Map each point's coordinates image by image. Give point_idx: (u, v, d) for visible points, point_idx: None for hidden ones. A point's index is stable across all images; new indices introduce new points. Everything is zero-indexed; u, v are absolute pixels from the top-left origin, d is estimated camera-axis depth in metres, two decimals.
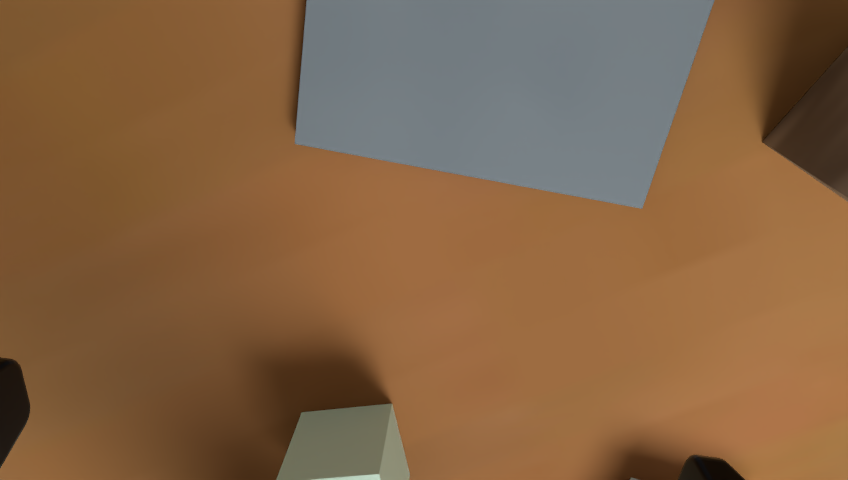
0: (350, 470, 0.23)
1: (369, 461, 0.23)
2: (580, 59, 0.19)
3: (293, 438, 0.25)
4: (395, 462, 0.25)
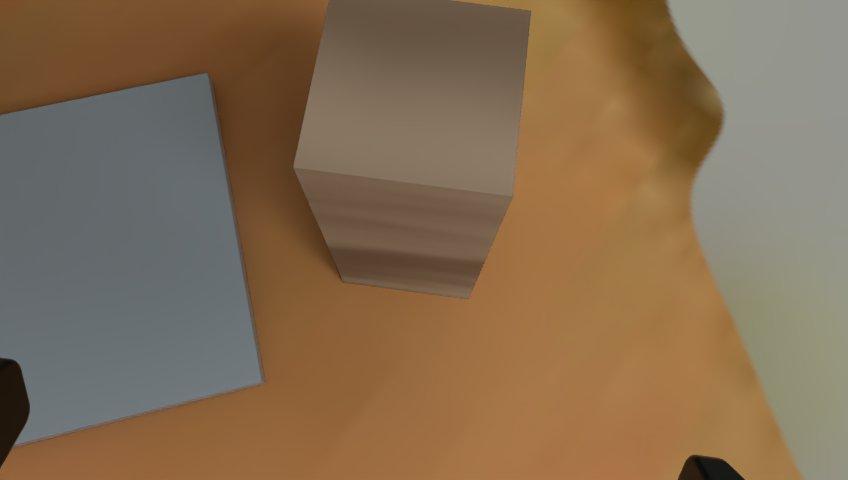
0: None
1: None
2: (142, 280, 0.21)
3: None
4: None
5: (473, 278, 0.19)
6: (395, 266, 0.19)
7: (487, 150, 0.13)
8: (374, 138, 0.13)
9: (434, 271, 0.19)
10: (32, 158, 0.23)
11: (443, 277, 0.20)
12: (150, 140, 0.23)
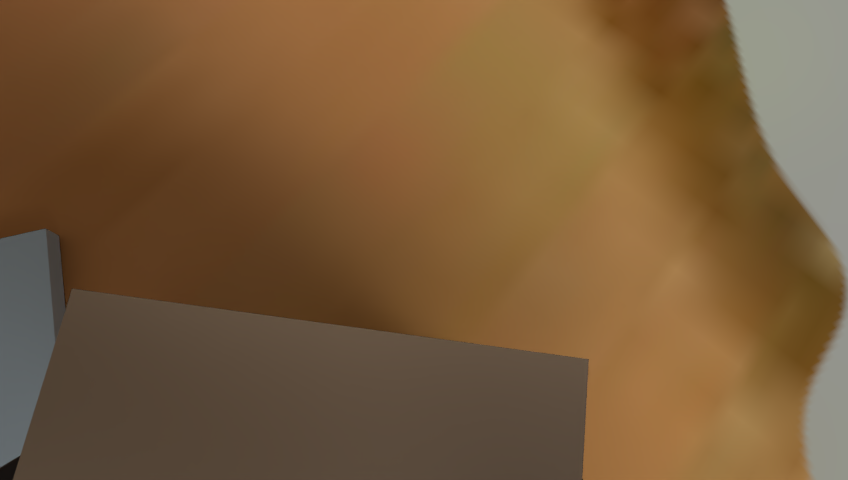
0: None
1: None
2: None
3: None
4: None
5: None
6: None
7: None
8: None
9: None
10: None
11: None
12: None
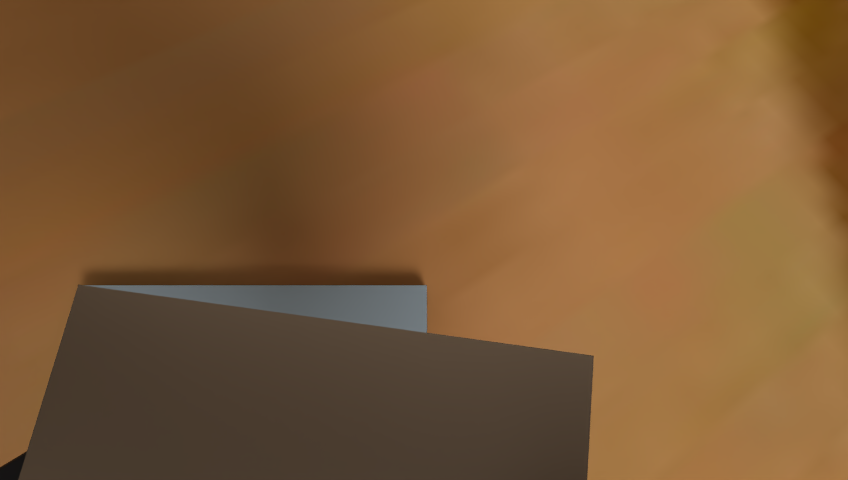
0: None
1: None
2: None
3: None
4: None
5: None
6: None
7: None
8: None
9: None
10: None
11: None
12: None
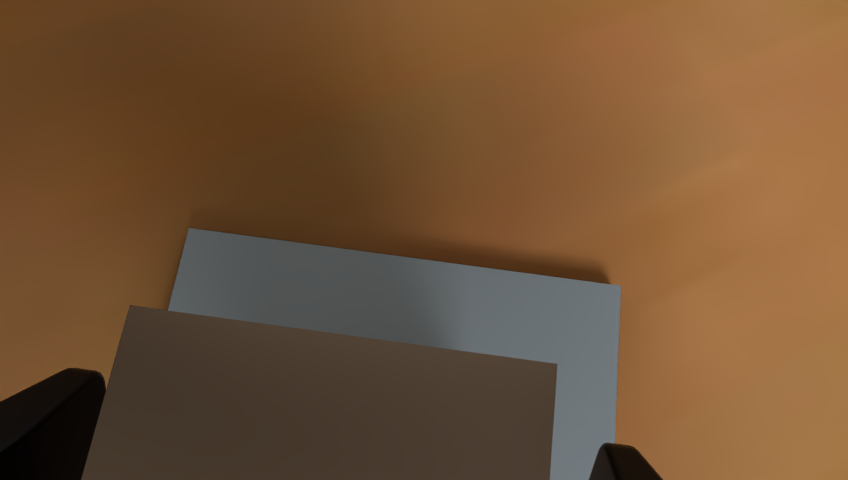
0: None
1: None
2: None
3: None
4: None
5: None
6: None
7: None
8: None
9: None
10: (366, 328, 0.16)
11: None
12: None
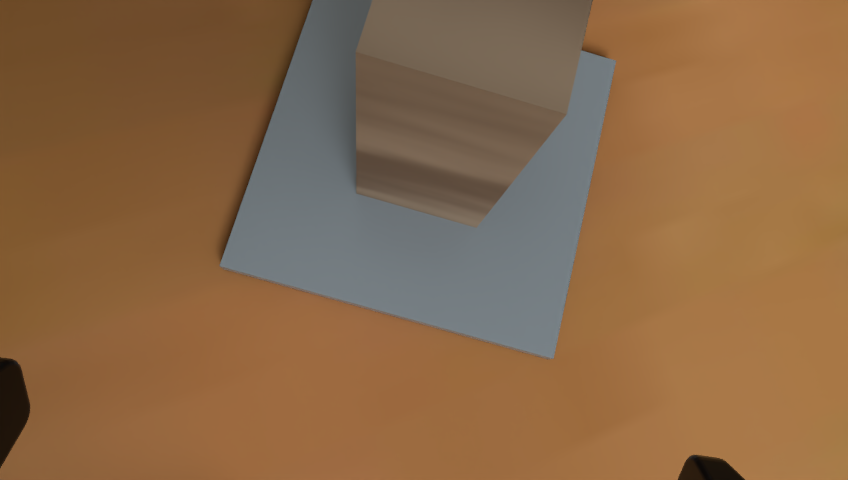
0: None
1: None
2: (490, 216, 0.23)
3: None
4: None
5: (490, 204, 0.20)
6: (416, 181, 0.19)
7: (548, 66, 0.13)
8: (439, 35, 0.13)
9: (454, 191, 0.19)
10: None
11: (460, 199, 0.20)
12: None
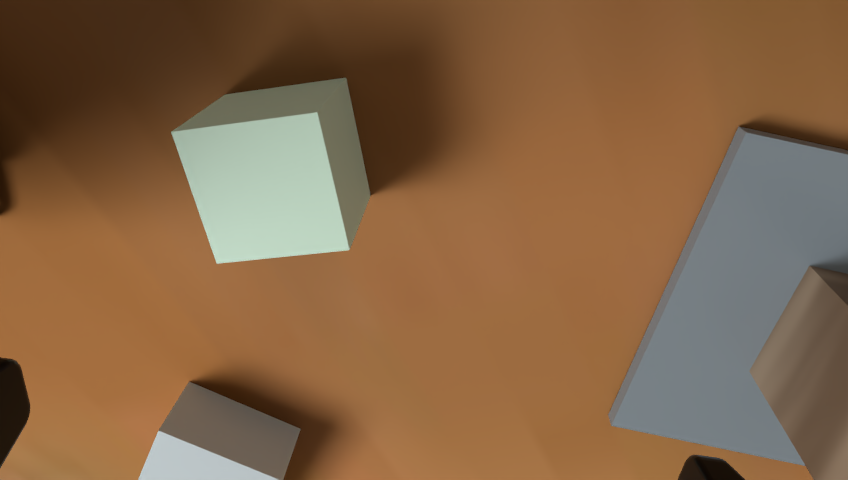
0: (342, 209, 0.17)
1: (350, 225, 0.18)
2: None
3: (336, 92, 0.18)
4: None
5: (787, 430, 0.20)
6: (828, 374, 0.18)
7: None
8: None
9: (810, 406, 0.19)
10: None
11: (795, 400, 0.20)
12: None
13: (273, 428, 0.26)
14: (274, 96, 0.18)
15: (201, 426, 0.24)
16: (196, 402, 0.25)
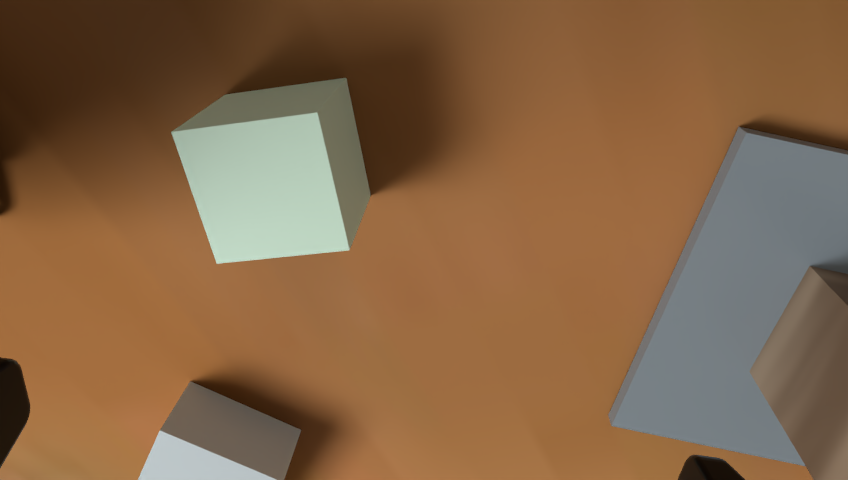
0: (342, 209, 0.17)
1: (350, 225, 0.18)
2: None
3: (336, 92, 0.18)
4: None
5: (787, 430, 0.20)
6: (828, 375, 0.18)
7: None
8: None
9: (810, 407, 0.19)
10: None
11: (795, 400, 0.20)
12: None
13: (273, 429, 0.26)
14: (274, 96, 0.18)
15: (202, 426, 0.24)
16: (197, 402, 0.25)
